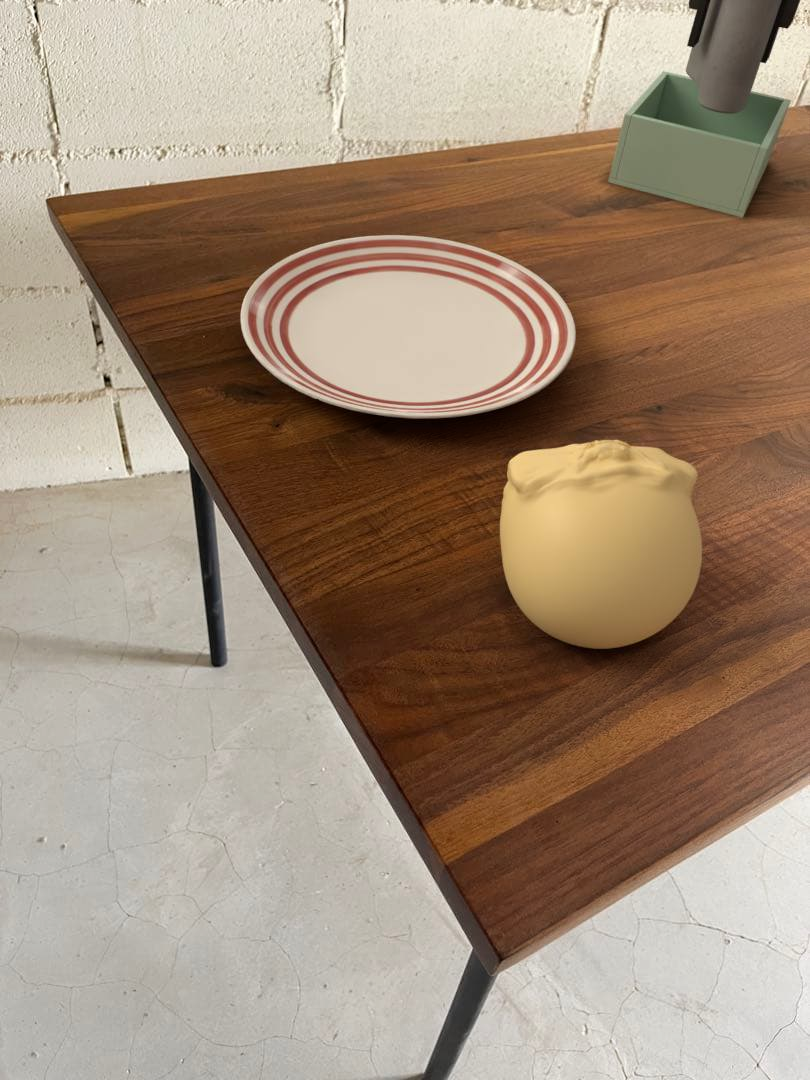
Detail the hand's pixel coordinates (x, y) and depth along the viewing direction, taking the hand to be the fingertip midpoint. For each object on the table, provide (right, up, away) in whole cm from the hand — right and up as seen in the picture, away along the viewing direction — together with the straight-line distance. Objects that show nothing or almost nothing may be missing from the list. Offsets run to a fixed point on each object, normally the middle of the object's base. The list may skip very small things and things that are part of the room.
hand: (728, 51), depth 97 cm
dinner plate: (-35, -37, -22) cm, 56 cm away
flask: (0, -3, +3) cm, 4 cm away
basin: (-1, -10, +10) cm, 14 cm away
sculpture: (-24, -57, -41) cm, 74 cm away
